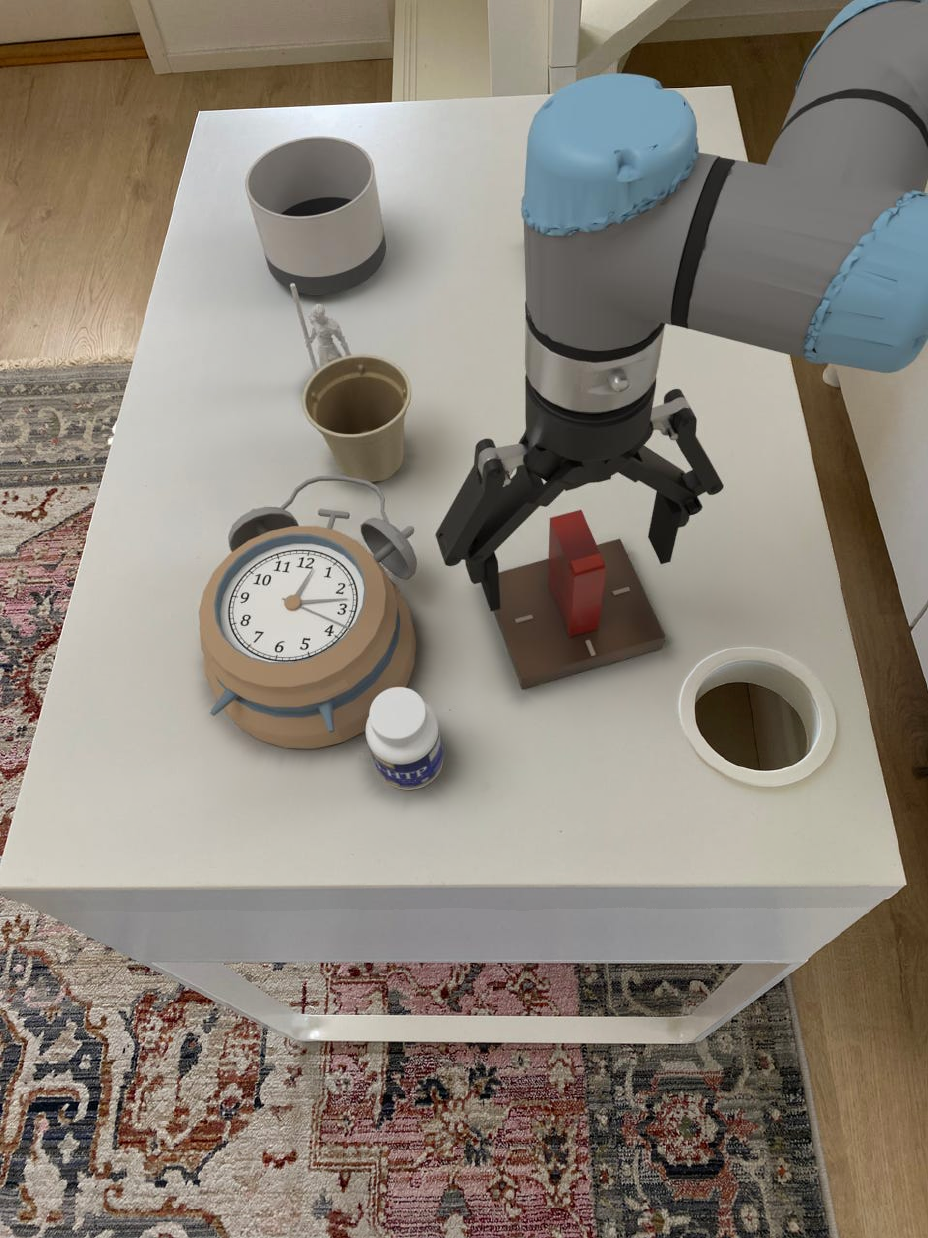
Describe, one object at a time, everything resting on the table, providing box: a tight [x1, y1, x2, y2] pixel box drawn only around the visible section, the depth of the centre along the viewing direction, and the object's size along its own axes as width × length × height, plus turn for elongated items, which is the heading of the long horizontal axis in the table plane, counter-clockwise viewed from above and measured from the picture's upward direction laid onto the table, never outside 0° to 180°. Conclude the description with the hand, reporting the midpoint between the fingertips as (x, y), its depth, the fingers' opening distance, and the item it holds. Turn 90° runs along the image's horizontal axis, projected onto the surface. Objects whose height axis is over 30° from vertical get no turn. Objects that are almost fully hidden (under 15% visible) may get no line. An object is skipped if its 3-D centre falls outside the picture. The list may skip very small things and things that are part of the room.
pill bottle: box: [365, 687, 444, 791], centre depth 69 cm, size 5×5×9 cm
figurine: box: [290, 283, 353, 374], centre depth 87 cm, size 5×5×12 cm
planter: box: [244, 135, 387, 296], centre depth 97 cm, size 13×13×10 cm
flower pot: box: [301, 353, 412, 483], centre depth 84 cm, size 9×9×9 cm
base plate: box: [493, 538, 666, 690], centre depth 77 cm, size 12×10×2 cm
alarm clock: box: [198, 475, 418, 750], centre depth 75 cm, size 17×9×23 cm
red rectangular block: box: [548, 509, 607, 637], centre depth 72 cm, size 6×2×9 cm, turn 16°
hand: (575, 572), depth 72 cm, fingers open, 13 cm apart
